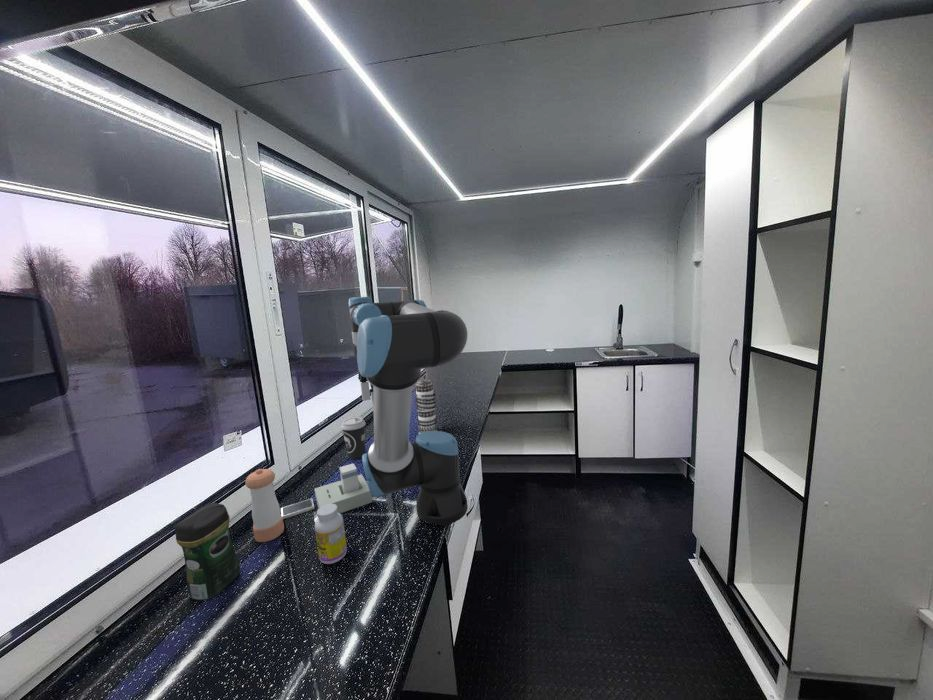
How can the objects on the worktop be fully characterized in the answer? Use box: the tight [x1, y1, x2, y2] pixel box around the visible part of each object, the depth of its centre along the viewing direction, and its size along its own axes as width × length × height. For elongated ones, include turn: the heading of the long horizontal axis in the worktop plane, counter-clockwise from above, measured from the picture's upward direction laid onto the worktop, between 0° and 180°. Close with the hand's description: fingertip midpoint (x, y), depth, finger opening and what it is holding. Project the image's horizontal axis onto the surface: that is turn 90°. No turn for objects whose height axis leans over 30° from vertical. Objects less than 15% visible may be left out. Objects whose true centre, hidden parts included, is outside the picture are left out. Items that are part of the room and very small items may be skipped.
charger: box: [339, 463, 359, 495], centre depth 111 cm, size 4×4×10 cm
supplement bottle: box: [314, 504, 348, 565], centre depth 87 cm, size 7×7×13 cm
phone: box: [280, 497, 316, 520], centre depth 108 cm, size 5×9×1 cm, turn 120°
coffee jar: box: [174, 502, 241, 601], centre depth 79 cm, size 10×8×19 cm
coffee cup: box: [340, 416, 366, 460], centre depth 141 cm, size 10×10×15 cm
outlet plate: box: [314, 473, 373, 514], centre depth 111 cm, size 15×12×4 cm
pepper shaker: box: [245, 468, 285, 543], centre depth 96 cm, size 7×7×19 cm
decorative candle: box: [414, 378, 438, 435], centre depth 159 cm, size 9×9×25 cm
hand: (371, 404), depth 120 cm, fingers open, 13 cm apart
